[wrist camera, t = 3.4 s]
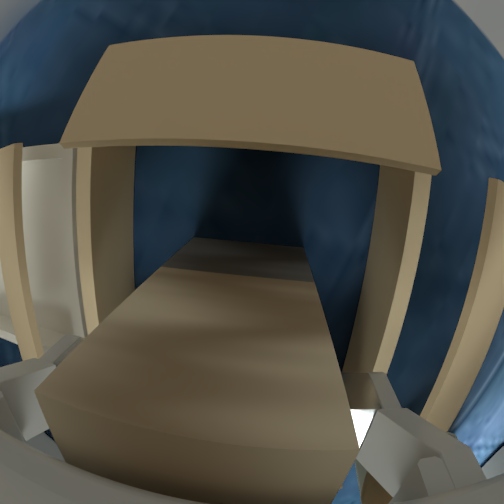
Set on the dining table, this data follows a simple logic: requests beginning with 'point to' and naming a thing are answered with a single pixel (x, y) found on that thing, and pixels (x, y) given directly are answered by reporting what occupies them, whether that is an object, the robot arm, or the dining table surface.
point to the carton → (272, 139)
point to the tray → (49, 245)
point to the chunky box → (210, 383)
